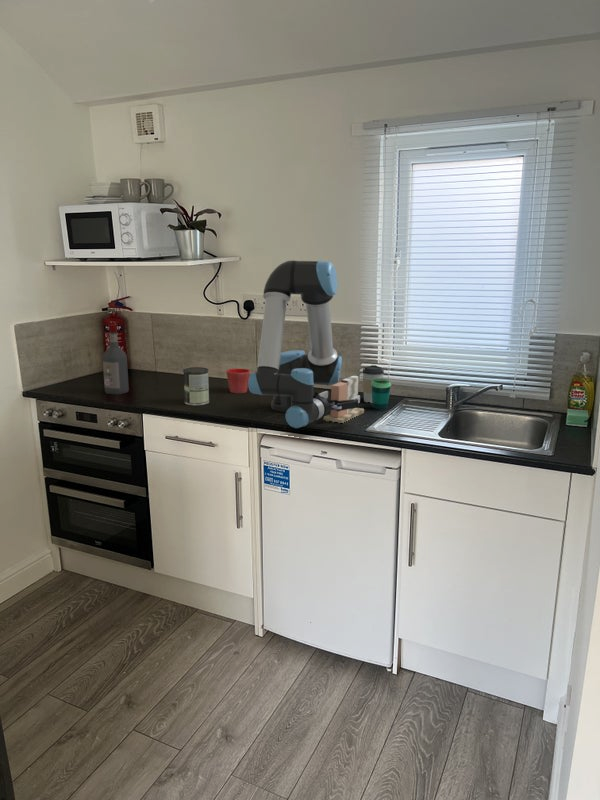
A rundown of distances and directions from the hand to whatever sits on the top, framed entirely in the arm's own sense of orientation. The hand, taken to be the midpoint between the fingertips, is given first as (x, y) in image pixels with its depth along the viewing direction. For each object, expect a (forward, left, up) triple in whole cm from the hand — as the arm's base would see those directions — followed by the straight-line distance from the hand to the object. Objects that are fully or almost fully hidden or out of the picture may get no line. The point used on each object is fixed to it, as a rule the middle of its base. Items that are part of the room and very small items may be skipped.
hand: (342, 396), depth 236 cm
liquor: (-98, +37, -9) cm, 106 cm away
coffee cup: (+14, +27, -9) cm, 32 cm away
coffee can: (-60, +21, -9) cm, 64 cm away
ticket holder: (0, +1, -8) cm, 8 cm away
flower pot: (-45, +41, -9) cm, 61 cm away
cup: (+16, +15, -9) cm, 24 cm away
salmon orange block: (-2, -3, -7) cm, 7 cm away
